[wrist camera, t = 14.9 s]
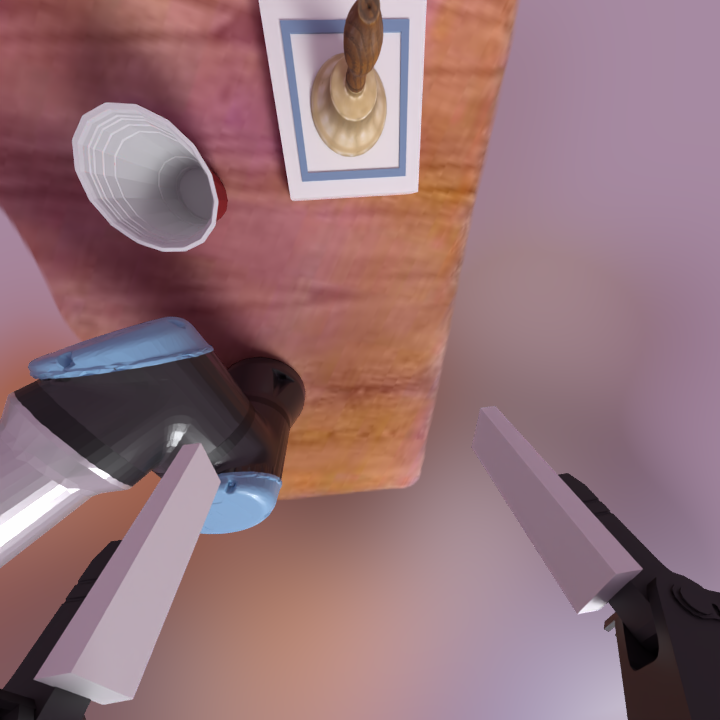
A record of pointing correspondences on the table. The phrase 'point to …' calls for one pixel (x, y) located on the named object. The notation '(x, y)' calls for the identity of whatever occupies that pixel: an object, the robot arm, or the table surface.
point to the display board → (294, 85)
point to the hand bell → (352, 86)
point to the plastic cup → (146, 177)
